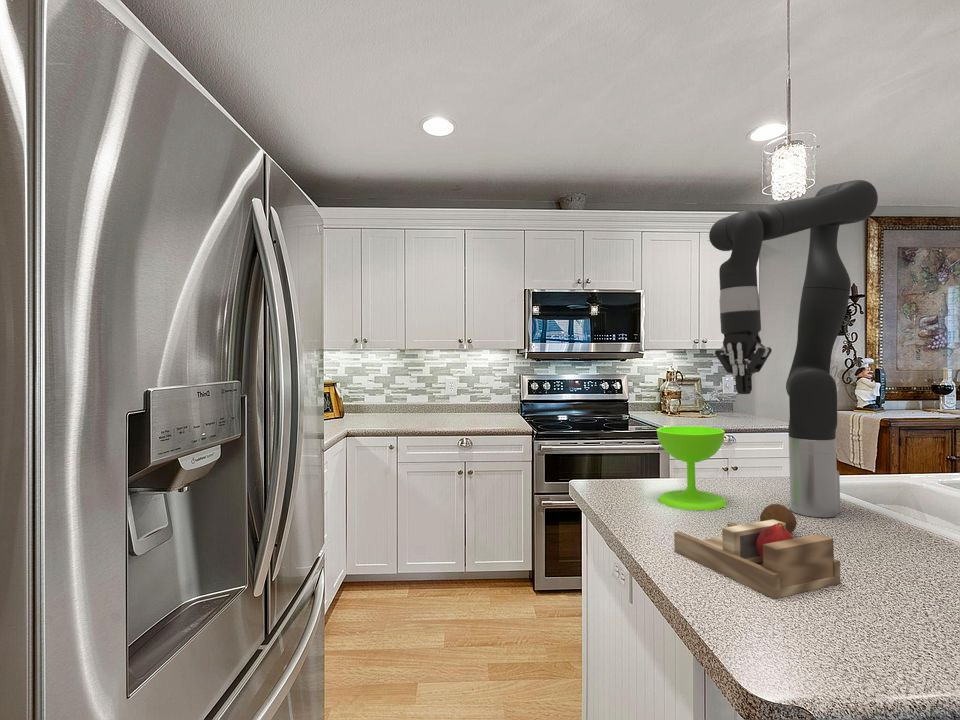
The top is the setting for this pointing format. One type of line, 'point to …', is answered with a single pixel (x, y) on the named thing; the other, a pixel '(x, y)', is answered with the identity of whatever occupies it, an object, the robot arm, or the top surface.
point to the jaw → (745, 539)
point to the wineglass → (691, 463)
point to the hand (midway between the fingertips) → (744, 393)
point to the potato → (779, 516)
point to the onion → (772, 536)
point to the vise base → (770, 563)
